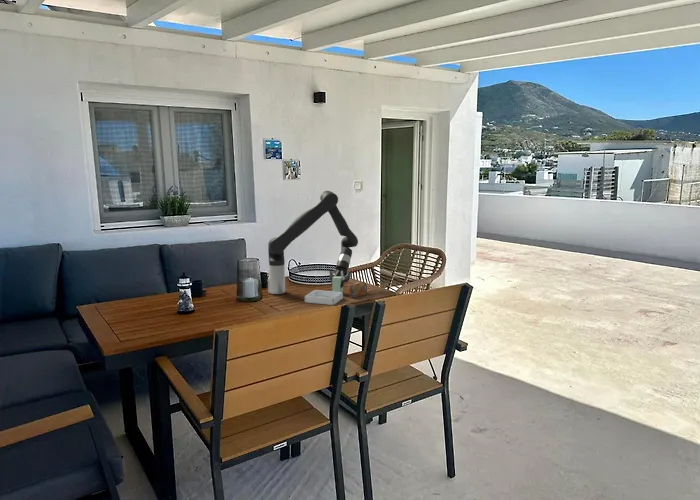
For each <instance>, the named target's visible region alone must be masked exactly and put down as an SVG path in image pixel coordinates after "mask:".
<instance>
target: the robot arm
mask: <svg viewBox="0 0 700 500" xmlns="http://www.w3.org/2000/svg"><path fill="white" fill-rule="evenodd" d="M319 199H320V201H319V202H318V204H315V206H313V207H312V208H310V209H307V210H306V211H303V212H302V213H301V214H300V215H298V216H297V217H295V219H294V220H293V221H292V222H291V223H290V224H289V226H288V227H287V229H285V231H284V232H282V233H281V234H280V235H279V236H277V237H272V238H270V239H269V242H268V245H267V247H268V249H267V250H268V252H267V253H268V267H269V268H268V270H269V273H268V274H269V276H268V277H267V291H268V292H267V293H268V294H271V295H281V294H285V293H286V277H285V275H286V274H285V273H286V271H285V270H286V267H285V261H286V260H285V250H286V248H287V247H288V246H290V244H292V242H293V241H295V240H296V239H297V238H299V237H300V236H301V235H303V233H305V232H306V231H308V229H309V228H311V227H312V226H313V225H314V224H315V223H316V222H318V220H319V219H321V218H322V217H323V216H324V215H325V214H326V213H327V212H328V214H329V215H330V217H331V219H332V221H333V223H334V226H335V228H336V229H337V232H338V233H339V236H341V237H343V238H342V239H341V241H340V244H341V245H340V248H341V249H340V253H339V256H338V259H337V262H336V265H335V269H334V270H329V280H330V286H331V287H332V278H333V277H334V276H335V277H336V276H341V277H342V281H341V285H340V287H341V288H342V287H343V288H344V285H345V283H349V281H350V279H351V277H352V272H351V271H349V268H350V264H351V259H352V256H353V250H352V249H351V248H355V247H357V246H358V244H359V239H358V237H357V235H355V233H354V231H352V230H351V229H350V226H349V225H348V223H347V221H346V219H345V218H344V216H343V214H342V212H341V211H340V209H339V208H338V206H337V204H338V203H339V197H338V195H337V194H336V193H334V192H332V191H330V190H324V191H322V192H321V194H320V197H319Z"/></svg>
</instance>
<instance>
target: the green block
mask: <svg viewBox="0 0 700 500" xmlns="http://www.w3.org/2000/svg"><path fill="white" fill-rule="evenodd" d="M341 281H342V277H341V276H336V277H335V276H334V275H333V277H332V281H331V282H332V286H331V287H332V288H331V289H332V290H331V291H334V292H343V293H344V286H343V287H342V288H341V287H340V285H341Z"/></svg>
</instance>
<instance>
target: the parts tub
mask: <svg viewBox="0 0 700 500" xmlns="http://www.w3.org/2000/svg"><path fill="white" fill-rule="evenodd" d="M343 299H344V291H343V292H334V291H332V290H320V289H314V290H311V292H309V293H308V294H306V295H304V303H310V304H317V305H318V304H321V305H330V306H334V305H335V304H337V303H338V302H340V301H341V300H343Z"/></svg>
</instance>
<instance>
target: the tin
mask: <svg viewBox="0 0 700 500" xmlns="http://www.w3.org/2000/svg"><path fill="white" fill-rule="evenodd" d="M367 292H368V285H367V283H366V282H365V281H358V282H355V283H352V284H350V286H349V288H348V294H349V297H350V298H354V299H355V298H357V297H361V296H365V295H366V294H367Z"/></svg>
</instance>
